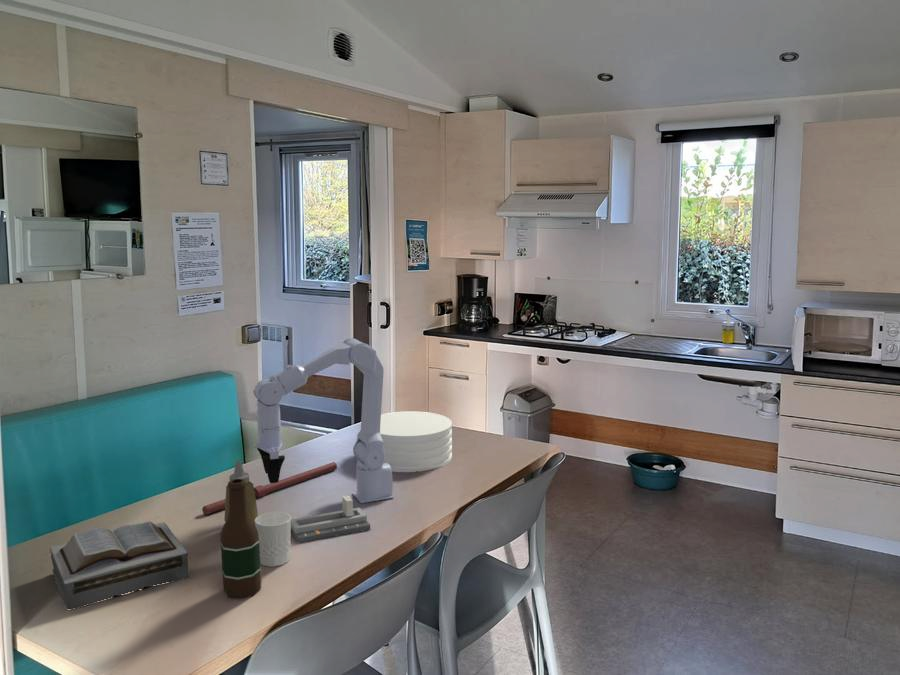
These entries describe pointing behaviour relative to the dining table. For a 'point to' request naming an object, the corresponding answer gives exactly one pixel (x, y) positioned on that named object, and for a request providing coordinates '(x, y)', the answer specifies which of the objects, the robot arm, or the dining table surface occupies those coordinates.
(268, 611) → the dining table surface
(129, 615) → the dining table surface
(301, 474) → the red long thin rod
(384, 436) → the plate stack
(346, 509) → the fader
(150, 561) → the bible
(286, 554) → the white cup
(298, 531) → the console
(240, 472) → the squeeze bottle
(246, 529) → the sauce bottle
